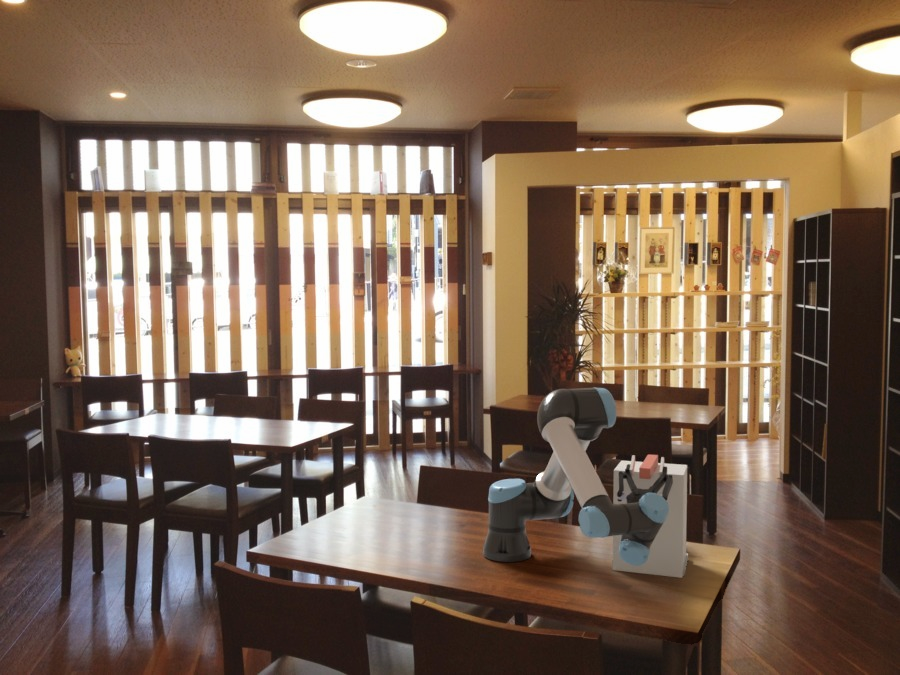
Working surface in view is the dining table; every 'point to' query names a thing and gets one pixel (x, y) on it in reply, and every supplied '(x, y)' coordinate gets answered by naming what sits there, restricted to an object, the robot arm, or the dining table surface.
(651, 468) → the lever bar
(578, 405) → the robot arm
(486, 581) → the dining table surface
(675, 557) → the white upright block
